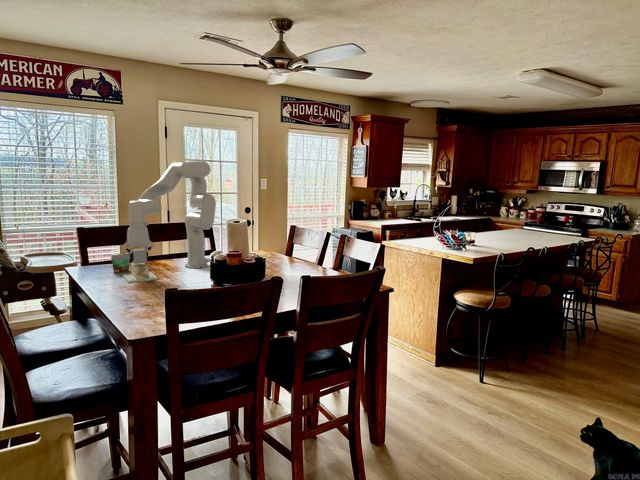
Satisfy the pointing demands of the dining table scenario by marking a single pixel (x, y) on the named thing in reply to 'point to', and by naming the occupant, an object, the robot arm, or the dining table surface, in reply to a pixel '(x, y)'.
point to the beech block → (139, 271)
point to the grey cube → (139, 256)
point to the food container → (120, 262)
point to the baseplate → (130, 279)
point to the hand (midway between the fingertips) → (139, 259)
